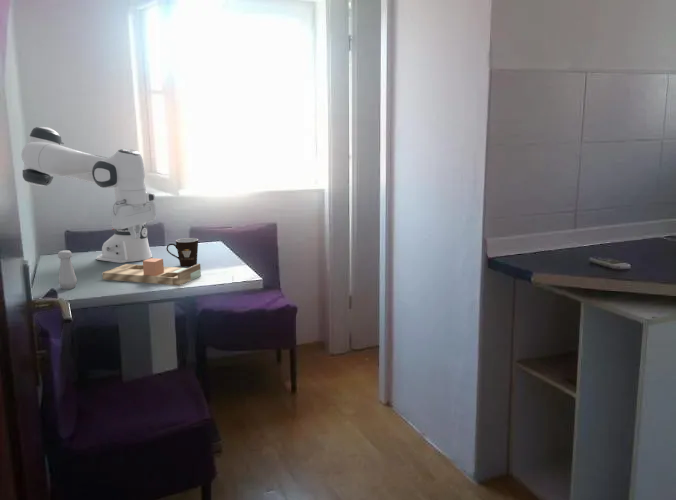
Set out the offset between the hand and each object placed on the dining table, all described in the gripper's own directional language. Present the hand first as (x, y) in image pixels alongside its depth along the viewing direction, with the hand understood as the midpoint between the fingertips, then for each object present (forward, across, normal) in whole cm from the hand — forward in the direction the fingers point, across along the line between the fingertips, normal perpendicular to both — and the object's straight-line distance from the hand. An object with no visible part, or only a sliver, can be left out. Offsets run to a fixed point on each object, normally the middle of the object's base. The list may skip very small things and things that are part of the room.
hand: (135, 238), depth 218 cm
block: (+14, +7, -2) cm, 16 cm away
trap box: (+16, +10, +2) cm, 19 cm away
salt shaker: (+17, -10, +22) cm, 29 cm away
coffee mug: (+17, +31, +1) cm, 35 cm away
